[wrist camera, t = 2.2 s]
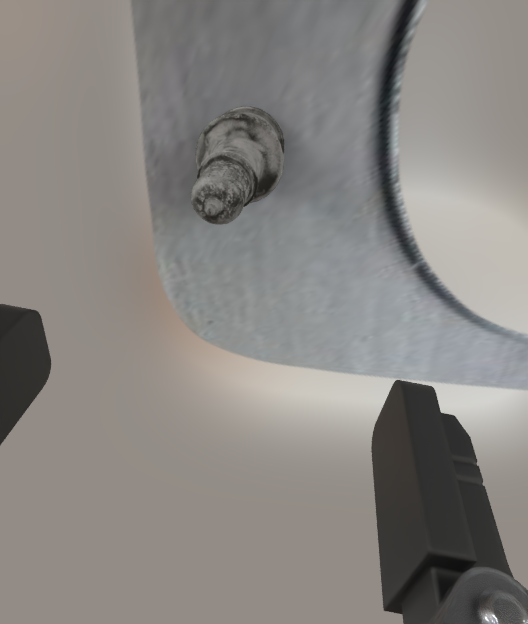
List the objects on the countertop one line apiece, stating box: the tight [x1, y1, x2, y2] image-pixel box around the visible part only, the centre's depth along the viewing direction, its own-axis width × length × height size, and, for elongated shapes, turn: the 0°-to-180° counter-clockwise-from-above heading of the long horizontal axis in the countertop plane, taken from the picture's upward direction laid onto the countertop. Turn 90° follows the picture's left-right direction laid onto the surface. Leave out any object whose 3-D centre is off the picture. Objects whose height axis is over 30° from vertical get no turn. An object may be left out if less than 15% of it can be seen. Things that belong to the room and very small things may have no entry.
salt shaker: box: [191, 107, 284, 224], centre depth 27 cm, size 6×6×12 cm
